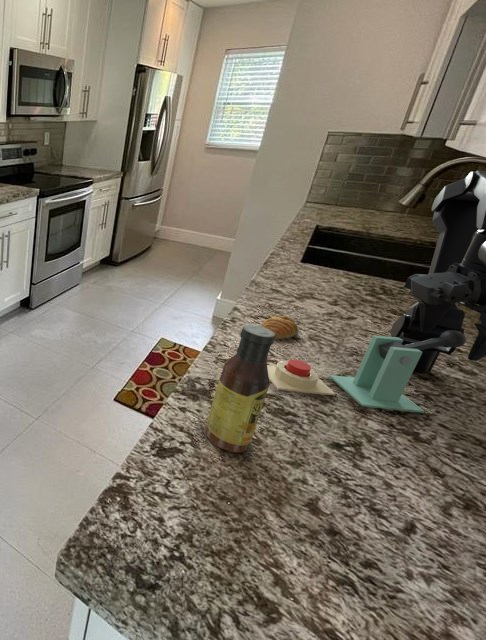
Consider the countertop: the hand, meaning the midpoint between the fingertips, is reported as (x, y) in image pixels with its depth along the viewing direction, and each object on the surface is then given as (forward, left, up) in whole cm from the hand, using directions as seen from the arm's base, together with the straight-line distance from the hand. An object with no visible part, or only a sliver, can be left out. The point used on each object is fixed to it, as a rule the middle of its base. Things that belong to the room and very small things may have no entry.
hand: (446, 345), depth 73 cm
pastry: (+13, -23, -12) cm, 29 cm away
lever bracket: (+8, 0, -12) cm, 15 cm away
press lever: (+3, 0, -2) cm, 4 cm away
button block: (+21, -2, -12) cm, 24 cm away
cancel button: (+21, -2, -9) cm, 23 cm away
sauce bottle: (+41, +17, -12) cm, 46 cm away
